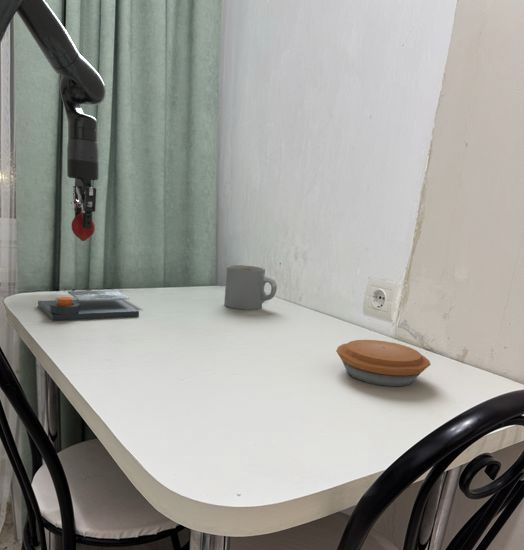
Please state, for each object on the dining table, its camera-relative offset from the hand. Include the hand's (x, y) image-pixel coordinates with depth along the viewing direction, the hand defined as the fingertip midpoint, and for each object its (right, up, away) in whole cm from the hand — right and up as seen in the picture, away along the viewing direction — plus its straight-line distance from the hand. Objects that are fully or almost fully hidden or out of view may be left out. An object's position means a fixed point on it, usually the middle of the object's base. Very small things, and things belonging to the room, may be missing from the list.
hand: (83, 227), depth 133 cm
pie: (+67, -37, -47) cm, 90 cm away
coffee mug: (+44, -21, 0) cm, 48 cm away
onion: (0, -4, +1) cm, 4 cm away
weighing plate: (+10, -20, -19) cm, 29 cm away
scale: (+9, -24, -21) cm, 33 cm away
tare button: (+7, -23, -29) cm, 38 cm away
